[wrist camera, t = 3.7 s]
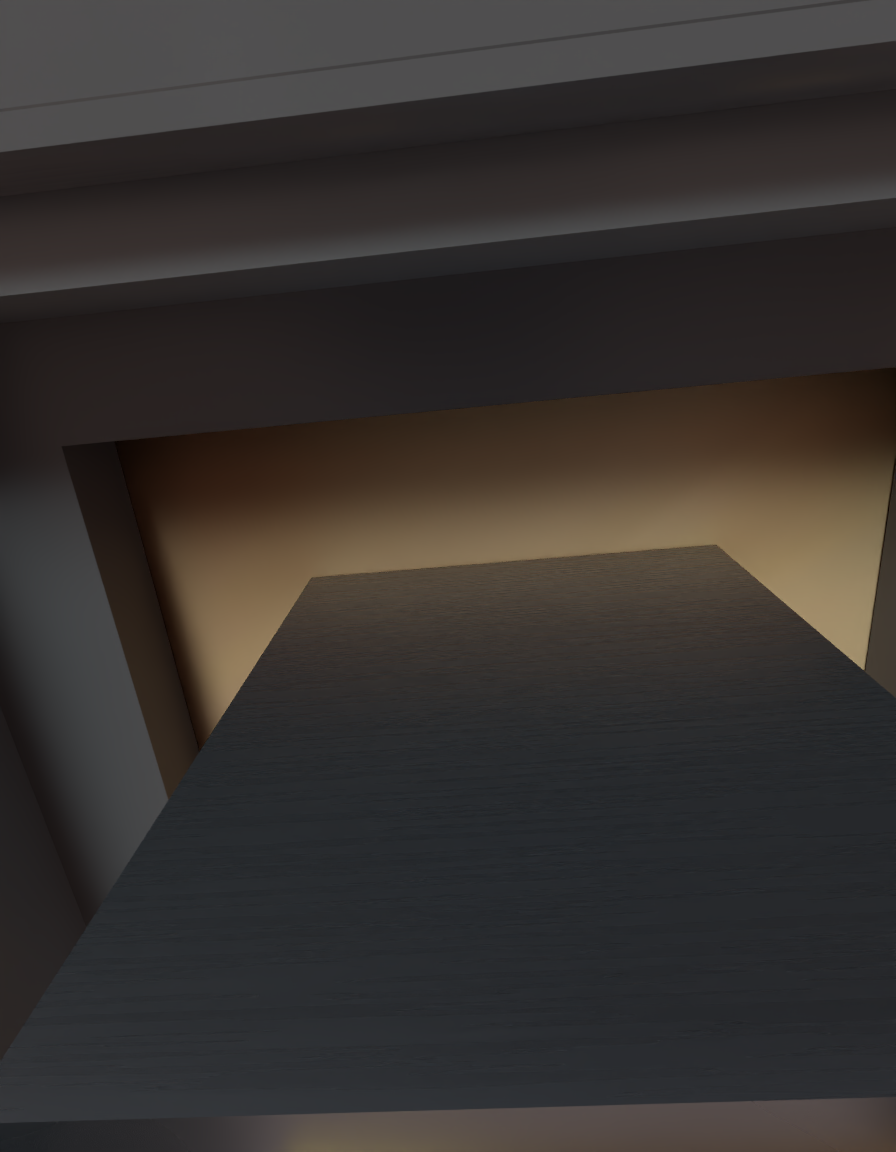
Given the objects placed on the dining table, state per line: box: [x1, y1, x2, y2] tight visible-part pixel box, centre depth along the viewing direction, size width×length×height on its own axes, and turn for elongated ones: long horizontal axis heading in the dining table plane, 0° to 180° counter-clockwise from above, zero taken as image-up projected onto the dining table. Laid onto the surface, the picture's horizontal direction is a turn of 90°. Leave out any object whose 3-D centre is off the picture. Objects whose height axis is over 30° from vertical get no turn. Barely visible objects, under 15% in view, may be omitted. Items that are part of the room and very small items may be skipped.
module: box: [0, 545, 896, 1152], centre depth 6 cm, size 5×5×6 cm
